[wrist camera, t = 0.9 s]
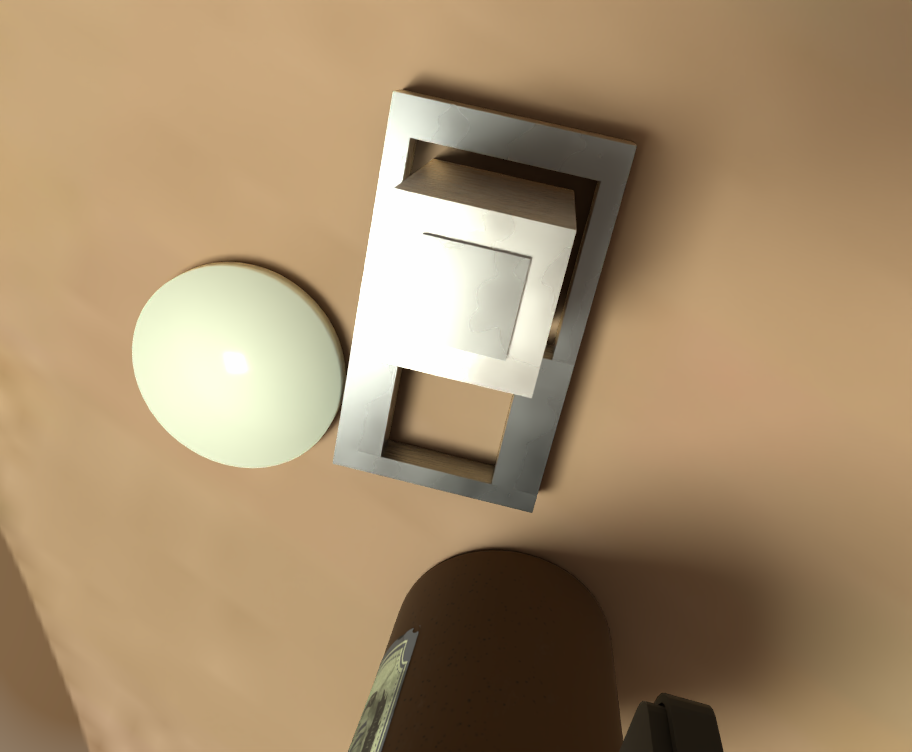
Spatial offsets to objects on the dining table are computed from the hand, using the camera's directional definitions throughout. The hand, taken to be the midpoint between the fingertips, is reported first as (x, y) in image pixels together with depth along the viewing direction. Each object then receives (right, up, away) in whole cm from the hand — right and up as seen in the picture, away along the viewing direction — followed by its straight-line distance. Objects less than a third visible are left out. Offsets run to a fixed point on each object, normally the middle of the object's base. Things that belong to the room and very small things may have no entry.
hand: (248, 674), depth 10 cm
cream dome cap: (-6, +4, +22) cm, 23 cm away
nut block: (+4, +8, +19) cm, 21 cm away
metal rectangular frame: (+3, +6, +20) cm, 21 cm away
